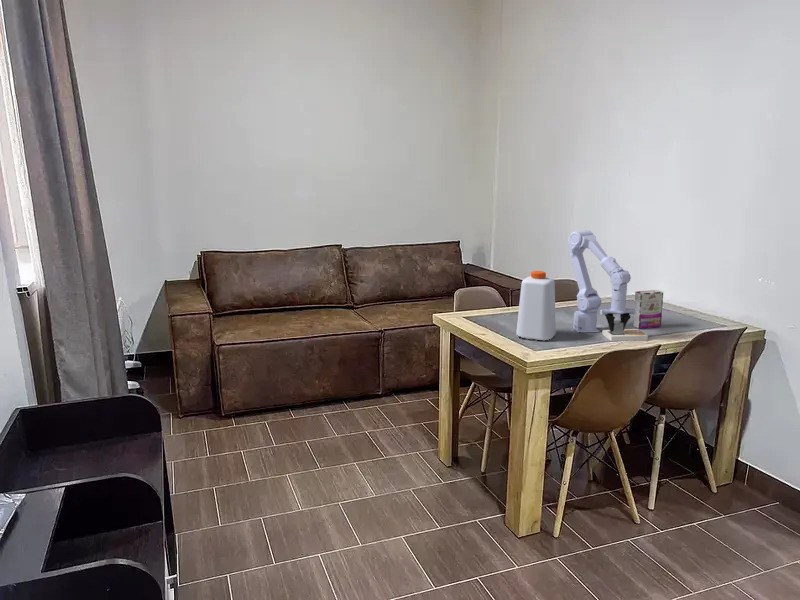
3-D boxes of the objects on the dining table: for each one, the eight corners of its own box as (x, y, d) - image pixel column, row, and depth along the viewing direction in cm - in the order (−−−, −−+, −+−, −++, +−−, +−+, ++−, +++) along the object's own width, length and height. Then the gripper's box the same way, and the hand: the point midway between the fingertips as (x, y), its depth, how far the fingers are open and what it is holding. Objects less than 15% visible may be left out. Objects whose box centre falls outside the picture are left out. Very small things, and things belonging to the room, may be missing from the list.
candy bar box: (654, 324, 273) (657, 289, 269) (661, 327, 268) (664, 291, 265) (632, 326, 271) (634, 290, 267) (638, 329, 266) (641, 293, 263)
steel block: (613, 339, 252) (614, 323, 251) (609, 336, 256) (610, 320, 255) (622, 338, 252) (623, 322, 251) (618, 336, 256) (619, 320, 255)
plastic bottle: (549, 343, 248) (552, 276, 242) (513, 338, 255) (515, 273, 248) (557, 333, 261) (560, 270, 255) (523, 329, 268) (525, 267, 261)
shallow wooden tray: (611, 341, 249) (611, 336, 249) (602, 334, 259) (602, 329, 258) (647, 340, 250) (648, 335, 249) (637, 333, 260) (637, 328, 259)
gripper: (605, 302, 246) (603, 333, 249) (639, 301, 247) (637, 332, 250) (598, 298, 253) (596, 329, 256) (632, 297, 254) (630, 328, 257)
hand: (616, 330), depth 254 cm, fingers open, 4 cm apart
